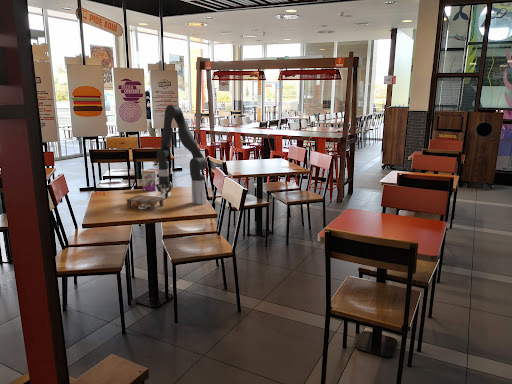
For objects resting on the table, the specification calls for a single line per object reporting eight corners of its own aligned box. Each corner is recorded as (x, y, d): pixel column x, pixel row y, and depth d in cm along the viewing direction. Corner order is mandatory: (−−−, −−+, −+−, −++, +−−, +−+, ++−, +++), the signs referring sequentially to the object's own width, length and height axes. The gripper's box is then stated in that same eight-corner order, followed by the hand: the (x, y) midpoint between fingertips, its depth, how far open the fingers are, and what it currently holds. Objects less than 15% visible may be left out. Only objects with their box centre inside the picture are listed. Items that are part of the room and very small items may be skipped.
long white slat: (173, 196, 311) (173, 191, 310) (156, 204, 287) (156, 199, 286) (164, 195, 313) (164, 190, 312) (146, 203, 289) (146, 198, 289)
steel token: (149, 207, 279) (149, 205, 279) (144, 210, 274) (144, 207, 273) (141, 207, 281) (141, 205, 281) (136, 209, 275) (136, 207, 275)
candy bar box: (142, 190, 328) (141, 170, 324) (144, 189, 333) (143, 169, 329) (155, 191, 327) (154, 171, 323) (157, 189, 332) (156, 170, 328)
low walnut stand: (163, 205, 284) (163, 197, 283) (153, 210, 271) (152, 201, 270) (138, 203, 290) (138, 194, 288) (127, 208, 277) (126, 199, 275)
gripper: (174, 174, 303) (175, 197, 307) (158, 173, 307) (159, 195, 311) (169, 176, 296) (170, 199, 300) (152, 175, 300) (154, 197, 304)
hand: (164, 197), depth 305 cm, fingers closed on long white slat, 2 cm apart
